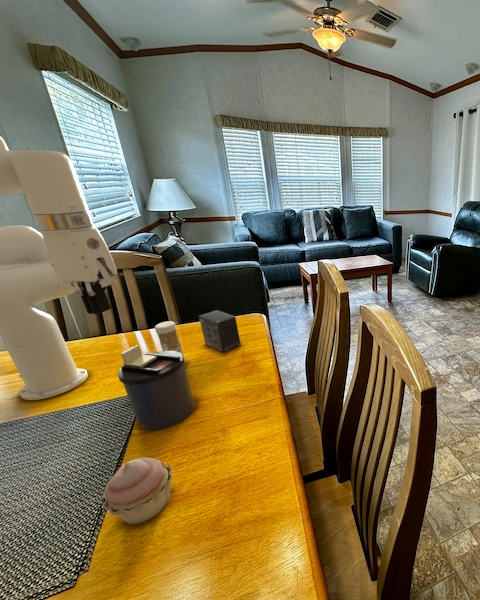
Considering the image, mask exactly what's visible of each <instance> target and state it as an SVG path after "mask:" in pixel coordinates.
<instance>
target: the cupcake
mask: <svg viewBox="0 0 480 600" xmlns="http://www.w3.org/2000/svg"><path fill="white" fill-rule="evenodd" d="M172 469H173V466H171V465H165V462H164V461H160V460H159V459H156V458H153V457H145V456H143V457H139V458H135V459H132V460H129V461H127V462H125V463H124V464H123V465H121V466H120V468H118V470H117V471H115V473H114V474H113V476H112V477H111V478H110V479H109V481H108V483H107V484H106V486H105V488H104V492H103V495H102V498H104V499H105V501H104V502H103V503H102V506H101V509H104V510H107V511H109V515H113V516H116V517H118V518H120V519H121V520H122V521H123V522H124V523H125V524H130V525H138V524H142V523H144V522H147V521H149V520H152V519H153V518H154V517H156V516H157V515H158V514H160V513H161V512H162V511H163V510H164V508H165V507H166V506H167V504H168V503H169V500H170V496H171V482H172V478H173V474H172Z"/></svg>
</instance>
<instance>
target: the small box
mask: <svg viewBox="0 0 480 600" xmlns="http://www.w3.org/2000/svg"><path fill="white" fill-rule="evenodd" d="M197 317H198V320H199V323H200V327H201V328H200V329H201V332H202V334H203V336H202V337H203V340H204V345H205V346H206V347H208V348H210V349H212V350H214V351H216V352H218V353H221V354H226V353H229V352H230V351H233V350H235V349H237V348H240V347H241V346H242V343H241V338H240V334H239V328H238V324H237V318H236V316H235V315H232V314H229V313H226V312H224V311H221V310H218V309H216V310H213V311H210V312H207V313H204V314H200V315H198V316H197Z"/></svg>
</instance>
